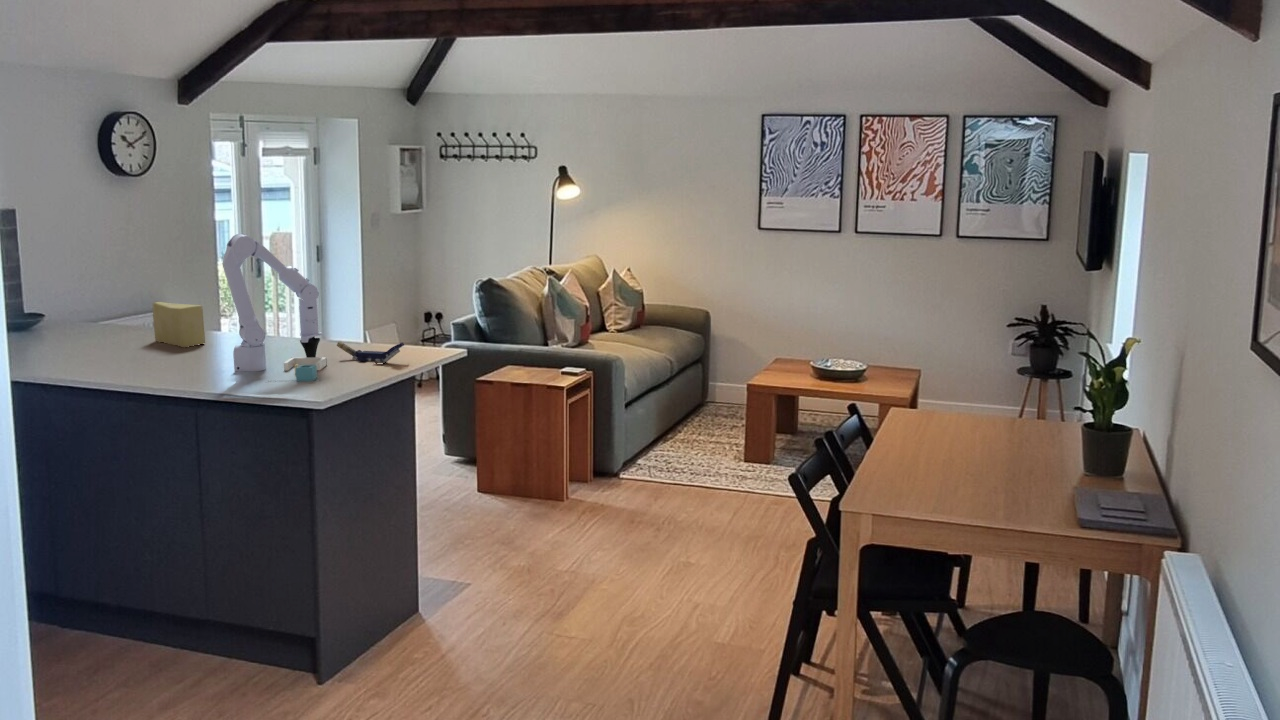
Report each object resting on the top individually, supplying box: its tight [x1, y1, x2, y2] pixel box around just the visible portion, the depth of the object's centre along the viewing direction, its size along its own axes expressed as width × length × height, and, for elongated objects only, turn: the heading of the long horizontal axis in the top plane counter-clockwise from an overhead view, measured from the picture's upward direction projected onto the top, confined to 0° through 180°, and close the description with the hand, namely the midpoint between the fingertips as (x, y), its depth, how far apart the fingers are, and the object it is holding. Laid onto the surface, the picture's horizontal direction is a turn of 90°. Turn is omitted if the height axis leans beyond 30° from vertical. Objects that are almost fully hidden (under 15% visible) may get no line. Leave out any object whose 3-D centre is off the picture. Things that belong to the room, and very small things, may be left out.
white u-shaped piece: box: [283, 356, 328, 371], centre depth 367 cm, size 11×9×2 cm
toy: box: [336, 340, 405, 364], centre depth 380 cm, size 10×22×10 cm, turn 78°
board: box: [264, 364, 323, 383], centre depth 360 cm, size 17×28×4 cm, turn 2°
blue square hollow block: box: [295, 365, 318, 382], centre depth 349 cm, size 5×5×4 cm
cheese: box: [152, 301, 206, 348], centre depth 418 cm, size 22×10×15 cm, turn 59°
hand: (311, 360), depth 375 cm, fingers closed
